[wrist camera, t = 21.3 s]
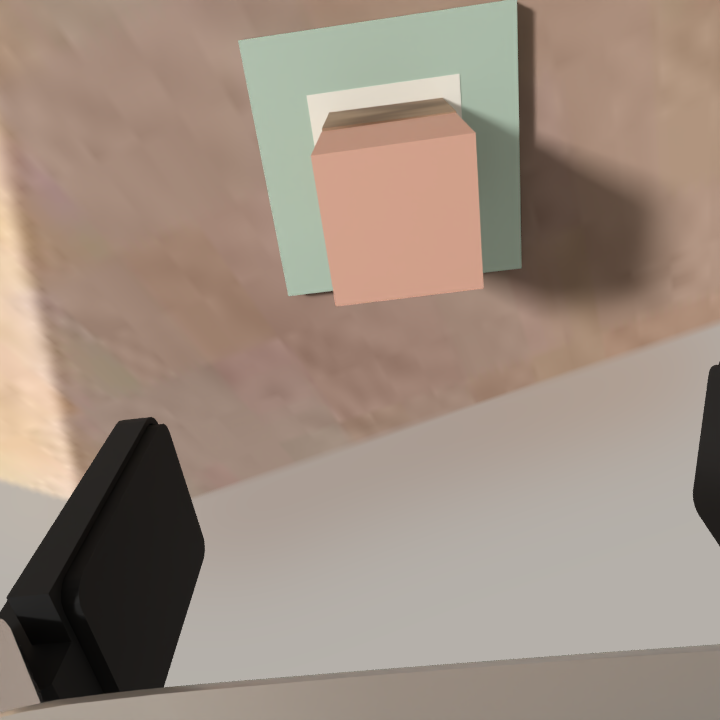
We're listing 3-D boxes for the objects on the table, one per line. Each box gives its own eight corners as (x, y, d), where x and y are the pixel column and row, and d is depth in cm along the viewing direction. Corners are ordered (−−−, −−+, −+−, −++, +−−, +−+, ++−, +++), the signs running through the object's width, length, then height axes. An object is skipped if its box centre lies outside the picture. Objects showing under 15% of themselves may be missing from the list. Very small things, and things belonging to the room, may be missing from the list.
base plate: (512, -1, 33) (517, -2, 32) (517, 261, 39) (521, 268, 38) (242, 40, 34) (237, 40, 33) (290, 289, 40) (288, 296, 39)
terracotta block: (455, 112, 28) (475, 132, 23) (463, 243, 31) (483, 288, 26) (321, 131, 29) (310, 155, 23) (341, 258, 32) (335, 306, 26)
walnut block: (442, 97, 34) (456, 111, 28) (449, 210, 36) (463, 242, 31) (329, 112, 34) (321, 128, 29) (344, 223, 37) (340, 256, 31)
